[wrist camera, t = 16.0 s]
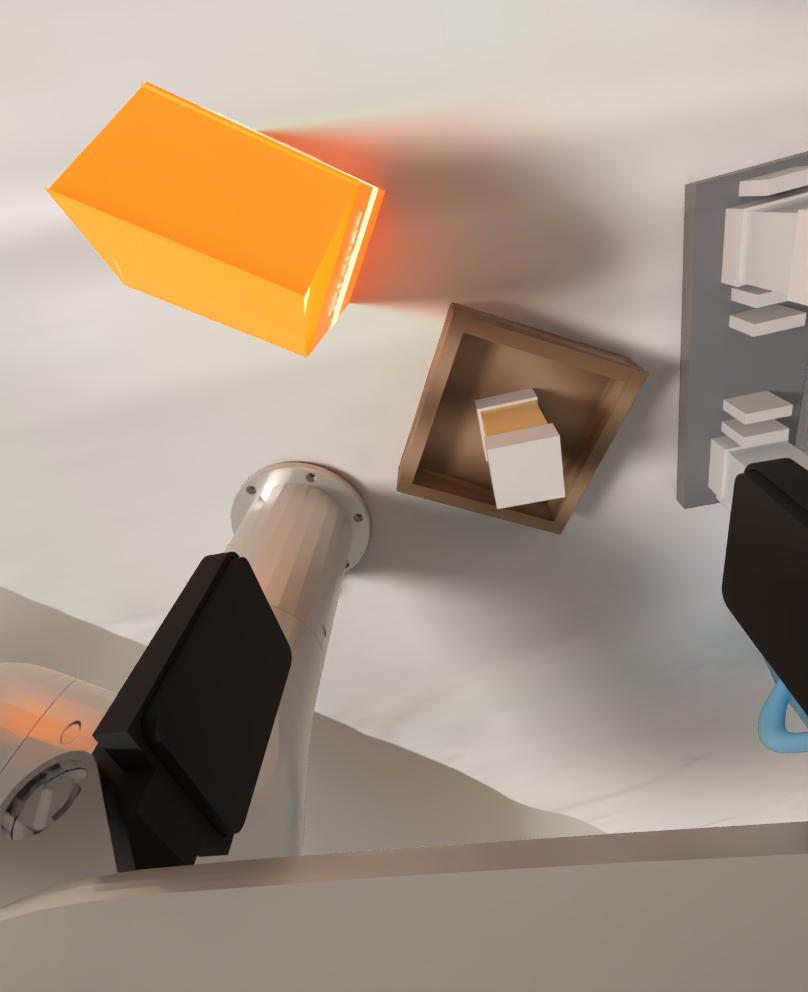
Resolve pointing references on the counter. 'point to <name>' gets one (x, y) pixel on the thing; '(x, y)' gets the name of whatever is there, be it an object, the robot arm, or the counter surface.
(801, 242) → the block
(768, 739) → the teakettle
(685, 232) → the fuse holder
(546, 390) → the walnut tray
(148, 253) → the orange juice
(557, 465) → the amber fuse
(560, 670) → the counter surface
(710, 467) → the block
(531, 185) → the counter surface
